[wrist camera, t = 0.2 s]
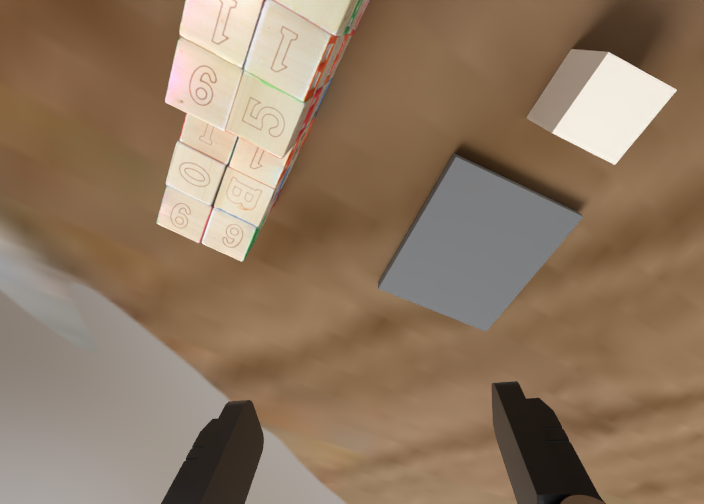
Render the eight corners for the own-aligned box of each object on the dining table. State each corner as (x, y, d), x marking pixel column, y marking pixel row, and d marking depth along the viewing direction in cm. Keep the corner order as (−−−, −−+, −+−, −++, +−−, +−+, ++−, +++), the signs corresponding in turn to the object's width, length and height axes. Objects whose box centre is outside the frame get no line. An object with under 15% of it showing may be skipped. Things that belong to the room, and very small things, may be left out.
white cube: (570, 48, 26) (608, 52, 22) (628, 81, 27) (676, 90, 22) (525, 117, 28) (551, 133, 24) (580, 145, 29) (614, 164, 25)
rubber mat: (453, 153, 30) (456, 156, 29) (578, 211, 32) (583, 216, 31) (378, 282, 37) (378, 288, 36) (483, 324, 38) (486, 331, 38)
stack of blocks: (274, 209, 34) (226, 290, 23) (208, 176, 32) (124, 246, 22) (400, -65, 23) (417, -146, 13) (310, -127, 22) (246, -272, 12)
